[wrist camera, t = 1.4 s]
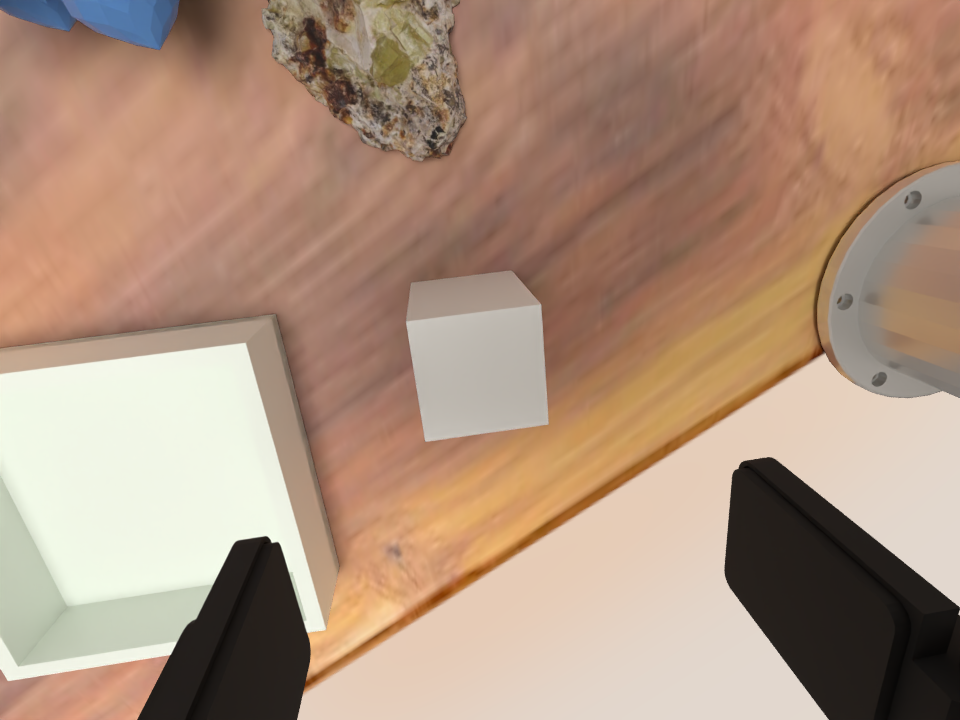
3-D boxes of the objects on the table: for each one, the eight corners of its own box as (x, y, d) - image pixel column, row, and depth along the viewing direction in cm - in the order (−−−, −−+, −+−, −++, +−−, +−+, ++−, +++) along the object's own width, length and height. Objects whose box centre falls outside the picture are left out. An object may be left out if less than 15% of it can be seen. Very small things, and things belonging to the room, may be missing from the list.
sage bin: (275, 313, 25) (245, 342, 21) (339, 566, 30) (326, 629, 26) (-62, 355, 24) (-165, 395, 20) (67, 608, 30) (8, 680, 25)
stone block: (511, 270, 25) (541, 304, 19) (519, 363, 27) (548, 424, 21) (410, 282, 25) (405, 321, 19) (425, 376, 27) (425, 441, 20)
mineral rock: (179, -68, 18) (363, -232, 15) (244, -43, 22) (401, -172, 19) (348, 212, 22) (517, 120, 20) (379, 192, 26) (523, 112, 23)
